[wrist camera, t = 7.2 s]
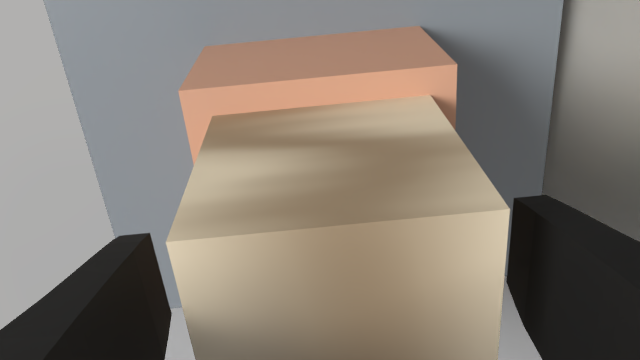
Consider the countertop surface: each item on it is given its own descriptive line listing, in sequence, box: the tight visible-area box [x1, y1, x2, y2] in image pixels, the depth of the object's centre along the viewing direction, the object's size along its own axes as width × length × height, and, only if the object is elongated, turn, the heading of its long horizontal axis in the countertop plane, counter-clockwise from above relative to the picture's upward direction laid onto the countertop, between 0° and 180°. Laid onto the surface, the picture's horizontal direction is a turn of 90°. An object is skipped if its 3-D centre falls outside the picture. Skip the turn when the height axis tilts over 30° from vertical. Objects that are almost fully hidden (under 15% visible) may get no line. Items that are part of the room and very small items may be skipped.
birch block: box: [166, 95, 510, 360], centre depth 11 cm, size 5×5×5 cm
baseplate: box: [44, 0, 564, 308], centre depth 17 cm, size 14×12×1 cm
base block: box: [178, 26, 457, 164], centre depth 15 cm, size 6×6×4 cm
